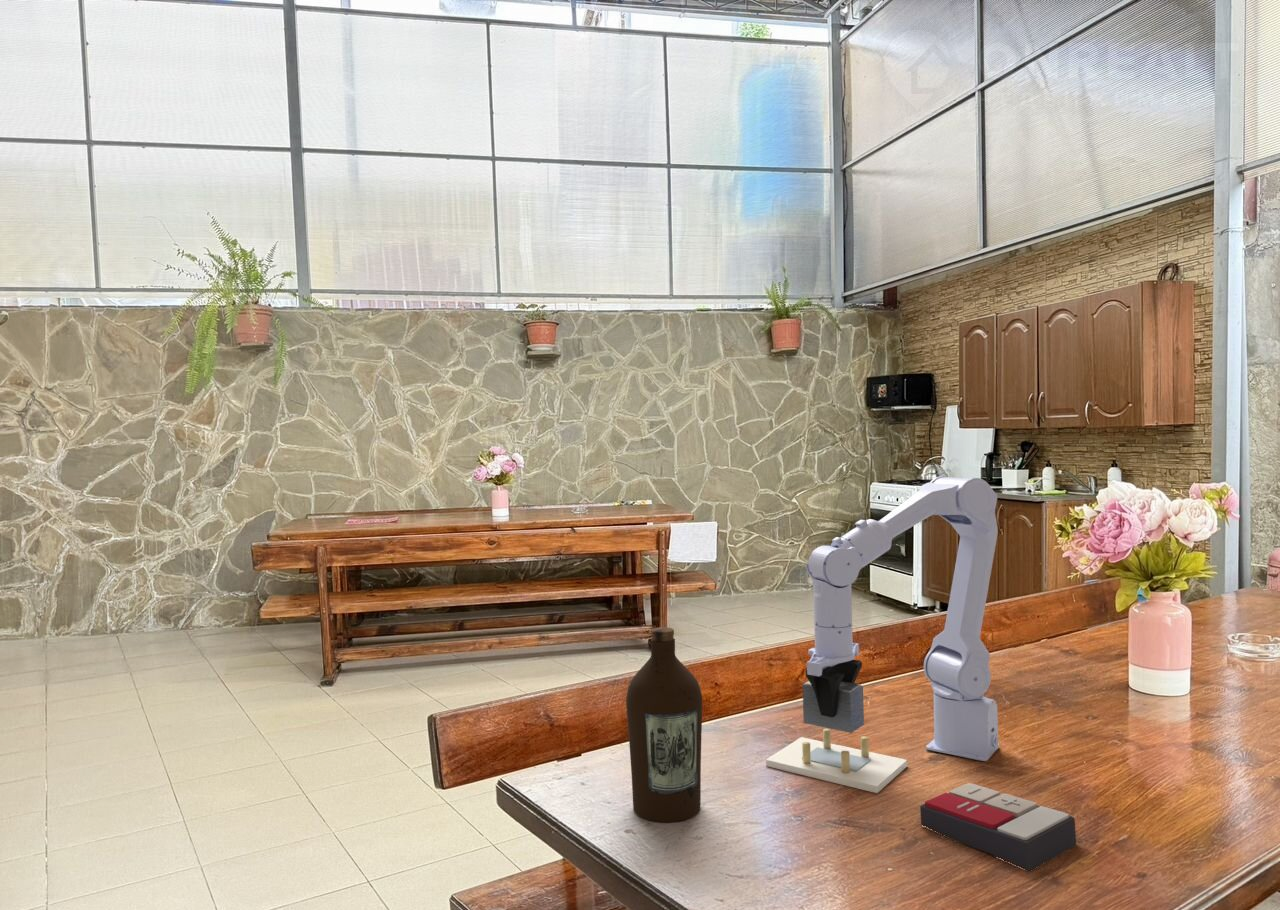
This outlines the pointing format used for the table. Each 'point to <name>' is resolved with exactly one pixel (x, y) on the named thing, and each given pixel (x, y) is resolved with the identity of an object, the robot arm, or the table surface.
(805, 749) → the cream pegged board
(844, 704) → the block
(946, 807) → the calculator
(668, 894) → the table surface
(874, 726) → the table surface
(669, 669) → the olive oil
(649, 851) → the table surface
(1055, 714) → the table surface
